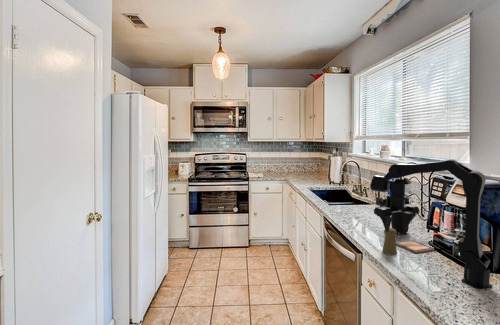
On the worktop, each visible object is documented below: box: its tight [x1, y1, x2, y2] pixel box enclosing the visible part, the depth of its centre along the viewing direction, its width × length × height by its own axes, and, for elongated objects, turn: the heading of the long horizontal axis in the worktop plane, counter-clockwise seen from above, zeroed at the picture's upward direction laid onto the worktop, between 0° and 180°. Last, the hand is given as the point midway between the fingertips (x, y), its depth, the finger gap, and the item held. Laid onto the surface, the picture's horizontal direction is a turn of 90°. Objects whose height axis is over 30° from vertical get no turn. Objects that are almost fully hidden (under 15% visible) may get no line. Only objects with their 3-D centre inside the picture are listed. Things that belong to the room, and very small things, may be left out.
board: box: [396, 238, 435, 255], centre depth 140 cm, size 12×20×1 cm, turn 108°
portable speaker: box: [390, 196, 411, 235], centre depth 160 cm, size 9×9×20 cm
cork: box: [381, 227, 398, 256], centre depth 132 cm, size 6×6×11 cm
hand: (395, 230), depth 123 cm, fingers open, 9 cm apart
